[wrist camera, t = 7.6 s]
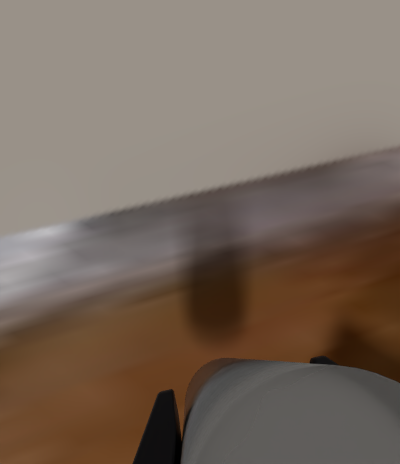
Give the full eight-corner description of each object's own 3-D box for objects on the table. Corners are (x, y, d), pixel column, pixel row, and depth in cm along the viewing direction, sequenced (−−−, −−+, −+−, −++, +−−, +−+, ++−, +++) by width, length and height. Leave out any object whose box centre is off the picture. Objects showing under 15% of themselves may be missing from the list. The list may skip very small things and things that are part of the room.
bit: (284, 389, 15) (577, 493, 4) (243, 475, 13) (507, 1056, 2) (213, 341, 15) (278, 306, 4) (168, 418, 14) (93, 653, 3)
